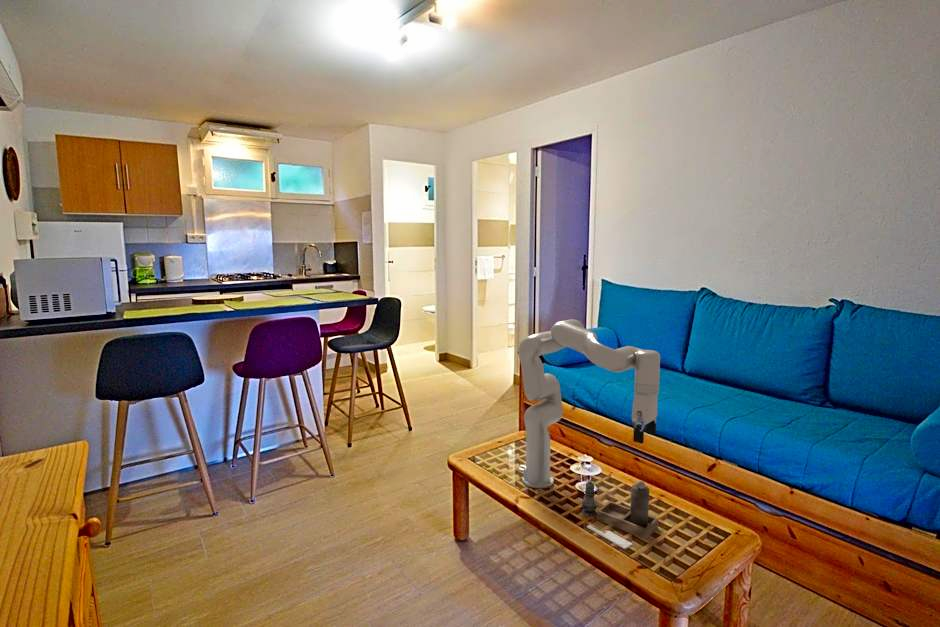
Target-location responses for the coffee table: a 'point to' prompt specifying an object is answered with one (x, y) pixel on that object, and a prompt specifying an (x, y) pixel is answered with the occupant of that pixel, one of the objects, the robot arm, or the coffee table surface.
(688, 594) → the coffee table surface
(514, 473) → the coffee table surface
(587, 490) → the salt shaker
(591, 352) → the robot arm
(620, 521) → the cruet stand
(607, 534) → the white plastic blade
